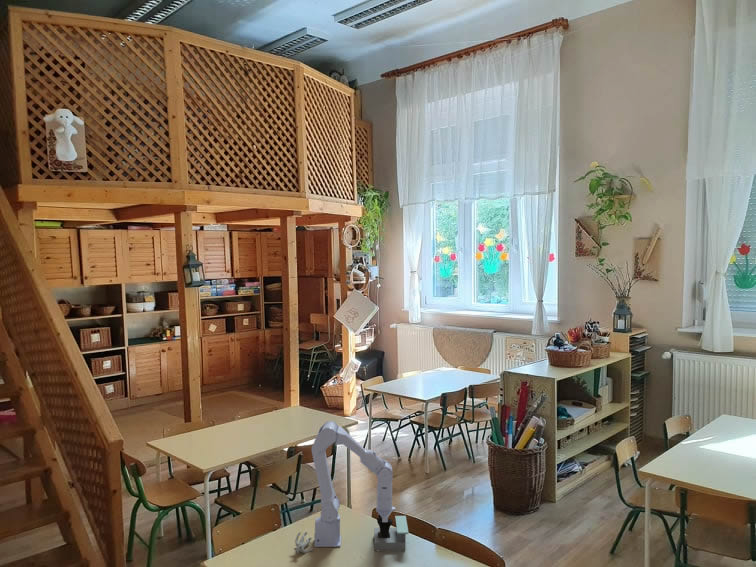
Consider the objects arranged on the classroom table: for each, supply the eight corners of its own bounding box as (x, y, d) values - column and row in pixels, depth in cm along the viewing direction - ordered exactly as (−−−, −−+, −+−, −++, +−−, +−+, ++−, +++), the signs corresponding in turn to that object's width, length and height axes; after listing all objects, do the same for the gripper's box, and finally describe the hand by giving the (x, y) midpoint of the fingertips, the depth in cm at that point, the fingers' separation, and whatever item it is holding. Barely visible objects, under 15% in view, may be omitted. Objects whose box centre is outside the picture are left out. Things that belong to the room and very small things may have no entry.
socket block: (374, 552, 197) (375, 532, 197) (374, 534, 210) (374, 515, 210) (408, 552, 197) (408, 532, 197) (405, 534, 210) (405, 515, 210)
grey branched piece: (317, 544, 204) (313, 550, 193) (307, 554, 203) (302, 561, 192) (303, 527, 206) (298, 533, 194) (293, 537, 205) (288, 543, 193)
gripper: (396, 504, 196) (395, 542, 196) (394, 488, 210) (393, 523, 211) (376, 504, 196) (376, 542, 196) (375, 488, 210) (375, 523, 211)
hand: (384, 532), depth 203 cm, fingers open, 7 cm apart
